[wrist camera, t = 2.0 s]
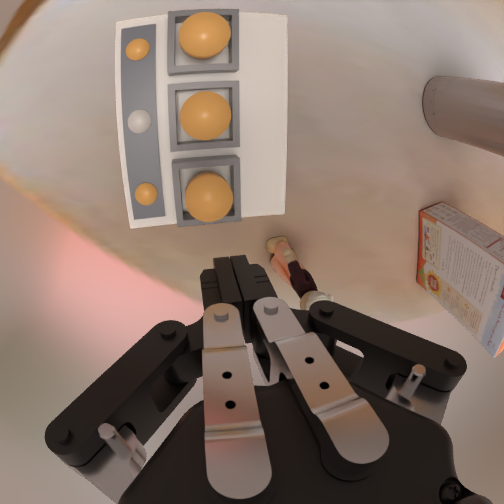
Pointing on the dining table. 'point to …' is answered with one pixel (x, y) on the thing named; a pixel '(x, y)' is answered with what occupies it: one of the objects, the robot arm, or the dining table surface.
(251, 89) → the button console
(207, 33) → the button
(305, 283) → the grandmother figurine
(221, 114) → the middle button
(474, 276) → the cracker box
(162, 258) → the dining table surface
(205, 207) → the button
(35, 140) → the dining table surface
